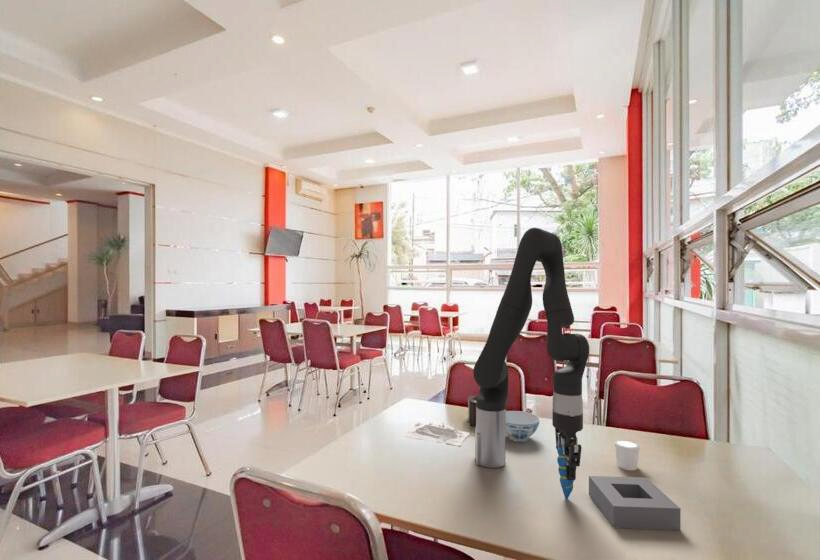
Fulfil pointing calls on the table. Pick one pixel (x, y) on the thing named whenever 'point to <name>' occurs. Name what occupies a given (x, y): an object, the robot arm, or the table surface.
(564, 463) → the ornament
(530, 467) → the table surface
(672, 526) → the socket block
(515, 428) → the chinaware
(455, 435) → the terrain model
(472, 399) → the pepper mill
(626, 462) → the white short cylinder
